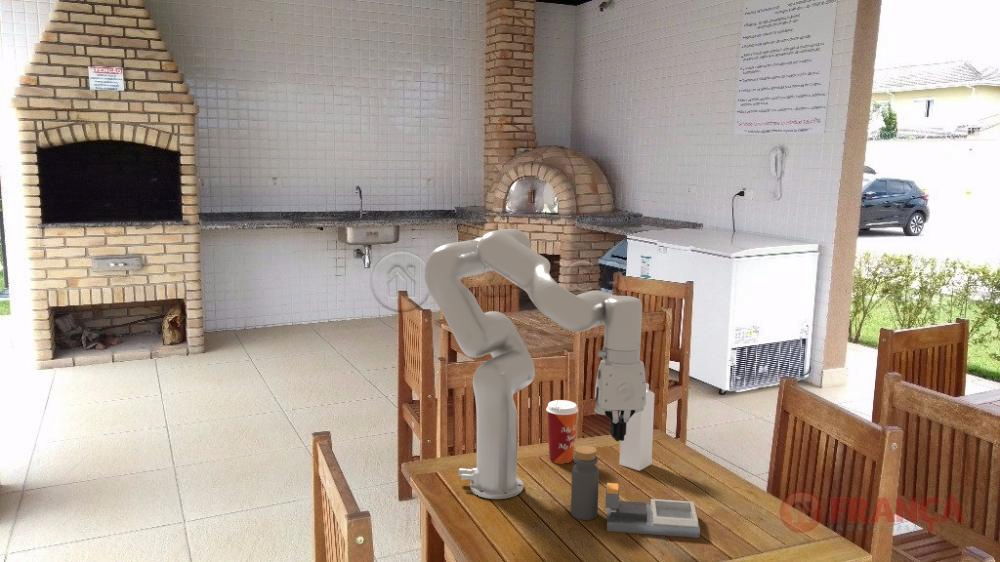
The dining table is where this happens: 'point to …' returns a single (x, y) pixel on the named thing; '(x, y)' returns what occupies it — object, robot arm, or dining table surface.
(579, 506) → the bottle
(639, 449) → the milk
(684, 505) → the panel
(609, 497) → the toggle
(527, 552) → the dining table surface
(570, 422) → the coffee cup
